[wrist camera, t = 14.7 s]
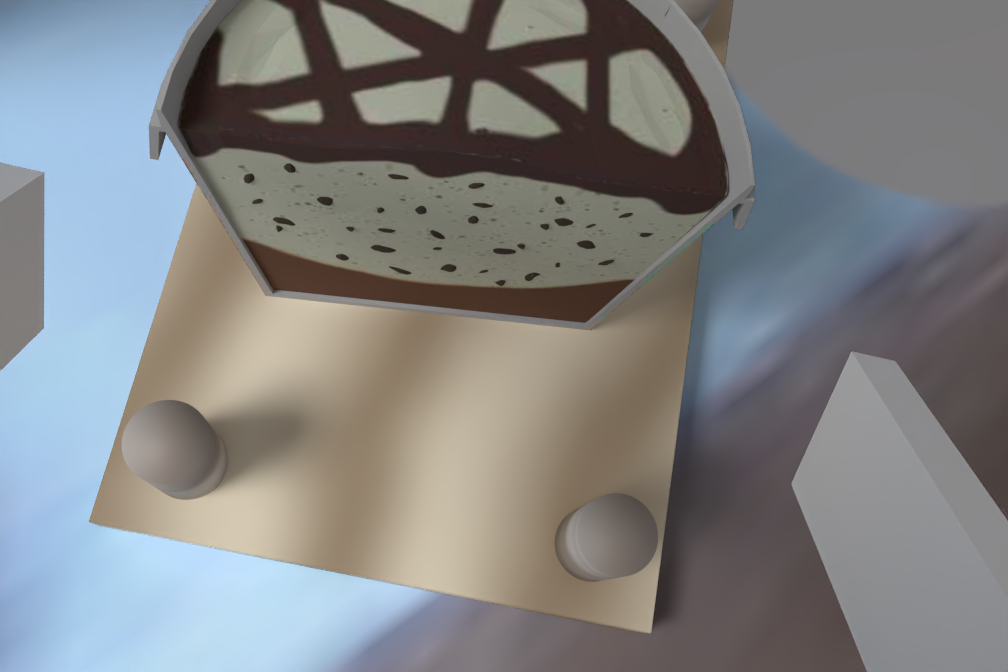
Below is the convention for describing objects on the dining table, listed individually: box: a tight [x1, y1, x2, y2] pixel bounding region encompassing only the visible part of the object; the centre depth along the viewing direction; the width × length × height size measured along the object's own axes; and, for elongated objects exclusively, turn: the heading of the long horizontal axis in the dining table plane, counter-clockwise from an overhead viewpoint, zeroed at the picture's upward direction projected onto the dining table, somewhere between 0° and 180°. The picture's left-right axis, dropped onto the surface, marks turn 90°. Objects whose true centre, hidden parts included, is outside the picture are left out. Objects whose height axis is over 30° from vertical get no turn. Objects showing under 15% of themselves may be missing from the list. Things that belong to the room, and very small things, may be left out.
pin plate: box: [89, 0, 733, 633], centre depth 27 cm, size 15×21×4 cm
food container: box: [149, 0, 755, 330], centre depth 23 cm, size 12×6×10 cm, turn 86°
